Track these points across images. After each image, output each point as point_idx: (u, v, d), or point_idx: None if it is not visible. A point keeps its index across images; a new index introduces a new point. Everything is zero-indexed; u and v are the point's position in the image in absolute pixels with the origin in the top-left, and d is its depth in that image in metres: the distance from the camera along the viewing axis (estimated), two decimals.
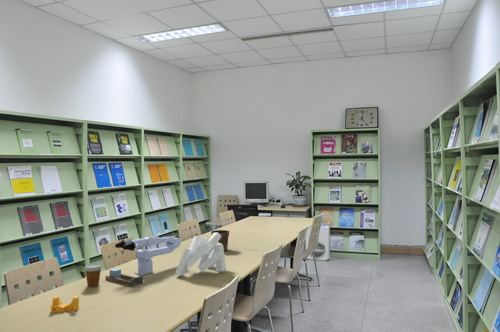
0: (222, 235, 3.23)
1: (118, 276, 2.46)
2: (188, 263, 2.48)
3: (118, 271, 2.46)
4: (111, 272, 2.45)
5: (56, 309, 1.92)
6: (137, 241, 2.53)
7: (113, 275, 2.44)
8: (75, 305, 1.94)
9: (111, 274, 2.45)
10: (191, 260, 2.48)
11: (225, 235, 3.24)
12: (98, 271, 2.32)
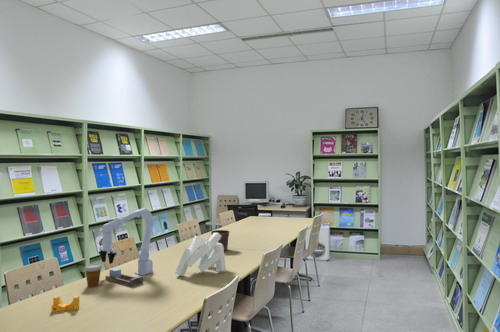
0: (222, 235, 3.23)
1: (118, 276, 2.46)
2: (188, 263, 2.48)
3: (118, 271, 2.46)
4: (111, 272, 2.45)
5: (57, 309, 1.93)
6: (106, 244, 2.49)
7: (113, 275, 2.44)
8: (76, 305, 1.95)
9: (111, 274, 2.45)
10: (191, 260, 2.48)
11: (225, 235, 3.24)
12: (98, 271, 2.32)
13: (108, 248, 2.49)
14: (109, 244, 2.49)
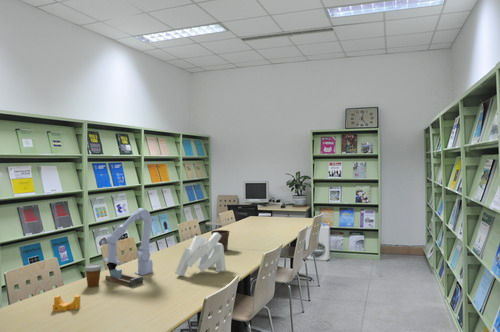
0: (222, 235, 3.23)
1: (119, 276, 2.46)
2: (188, 263, 2.48)
3: (119, 271, 2.46)
4: (112, 272, 2.45)
5: (58, 308, 1.94)
6: (111, 255, 2.46)
7: (114, 275, 2.44)
8: (77, 304, 1.96)
9: (112, 274, 2.45)
10: (191, 260, 2.48)
11: (225, 235, 3.24)
12: (98, 271, 2.32)
13: (113, 259, 2.47)
14: (114, 255, 2.47)
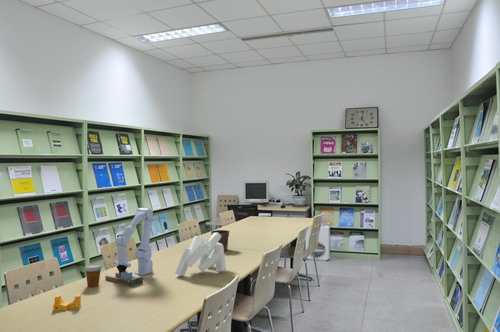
0: (222, 235, 3.23)
1: (129, 279, 2.40)
2: (188, 263, 2.48)
3: (129, 274, 2.40)
4: (122, 275, 2.39)
5: (58, 307, 1.94)
6: (121, 257, 2.41)
7: (124, 278, 2.38)
8: (77, 303, 1.97)
9: (122, 277, 2.39)
10: (191, 260, 2.48)
11: (225, 235, 3.24)
12: (98, 271, 2.32)
13: (123, 262, 2.41)
14: (124, 258, 2.41)
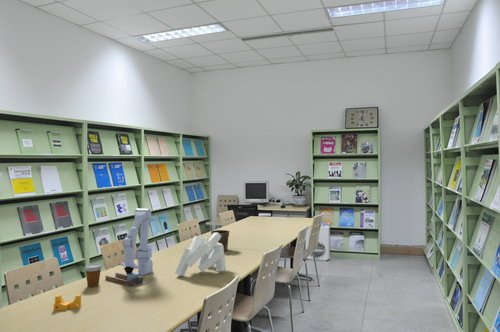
0: (222, 235, 3.23)
1: None
2: (188, 263, 2.48)
3: (136, 275, 2.37)
4: (129, 276, 2.36)
5: (59, 307, 1.95)
6: (128, 259, 2.37)
7: None
8: (78, 303, 1.98)
9: (129, 278, 2.36)
10: (191, 260, 2.48)
11: (225, 235, 3.24)
12: (98, 271, 2.32)
13: (130, 263, 2.37)
14: (131, 259, 2.38)
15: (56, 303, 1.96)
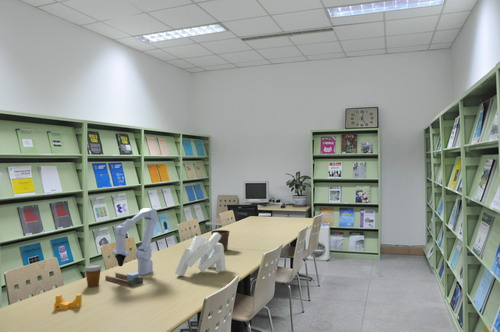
0: (222, 235, 3.23)
1: None
2: (188, 263, 2.48)
3: (136, 275, 2.37)
4: (129, 276, 2.36)
5: (59, 307, 1.95)
6: (120, 247, 2.41)
7: None
8: (78, 302, 1.98)
9: (129, 278, 2.36)
10: (191, 260, 2.48)
11: (225, 235, 3.24)
12: (98, 271, 2.32)
13: (121, 251, 2.42)
14: (122, 247, 2.42)
15: (57, 303, 1.96)
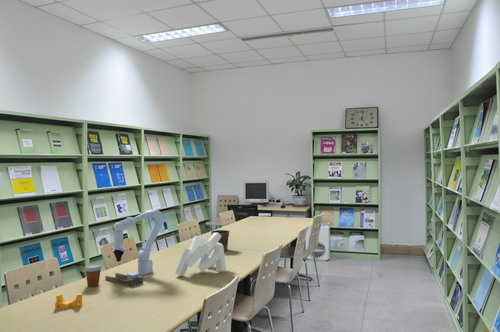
0: (222, 235, 3.23)
1: None
2: (188, 263, 2.48)
3: (136, 275, 2.37)
4: (129, 276, 2.36)
5: (60, 306, 1.96)
6: (118, 243, 2.50)
7: None
8: (79, 302, 1.99)
9: (129, 278, 2.36)
10: (191, 260, 2.48)
11: (225, 235, 3.24)
12: (98, 271, 2.32)
13: (119, 247, 2.51)
14: (120, 243, 2.51)
15: (57, 302, 1.97)
